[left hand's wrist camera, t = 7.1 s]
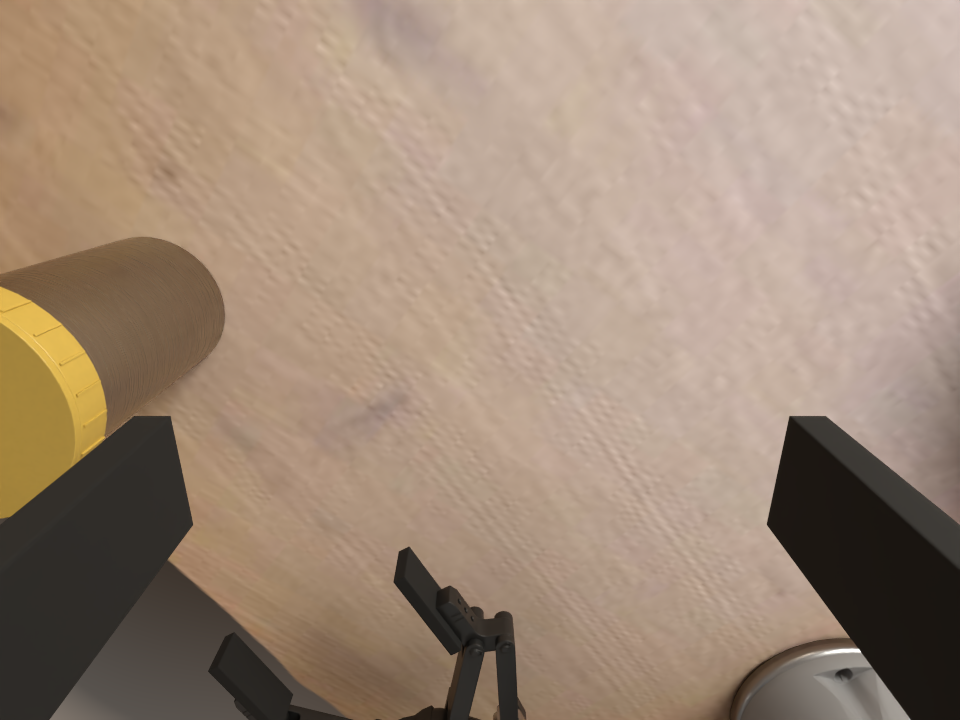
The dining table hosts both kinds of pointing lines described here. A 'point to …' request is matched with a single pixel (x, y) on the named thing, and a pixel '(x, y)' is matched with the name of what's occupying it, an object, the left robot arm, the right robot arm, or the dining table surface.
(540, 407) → the dining table surface
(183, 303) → the jar
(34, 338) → the lid
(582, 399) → the dining table surface
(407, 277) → the dining table surface
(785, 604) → the dining table surface
